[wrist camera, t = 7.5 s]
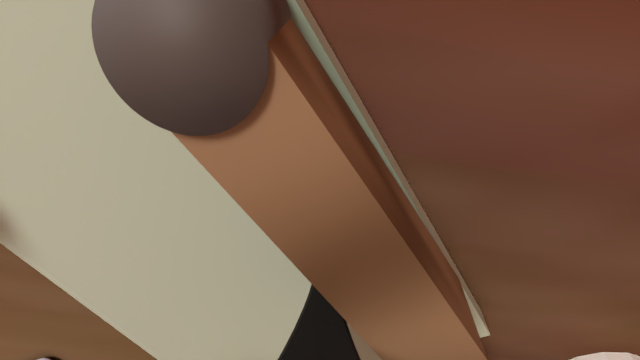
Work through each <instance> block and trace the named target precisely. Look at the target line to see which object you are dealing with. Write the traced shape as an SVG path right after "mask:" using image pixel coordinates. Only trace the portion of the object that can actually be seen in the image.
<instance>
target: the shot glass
mask: <svg viewBox="0 0 640 360" xmlns="http://www.w3.org/2000/svg"><path fill="white" fill-rule="evenodd" d="M570 360H640V356H637V355H634V354H631V353H619V352H600V353H595V354H589V355H584V356H578V357H575V358H573V359H570Z"/></svg>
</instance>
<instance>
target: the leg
mask: <svg viewBox="0 0 640 360" xmlns="http://www.w3.org/2000/svg"><path fill="white" fill-rule="evenodd" d="M91 27H92V39H93V44H94V49H95V52H96V55H97V59H98V61H99V64H100V66H101V68H102V71H103V73H104V74H105V76H106V78H107V80H108V81H109V83H110V84H111V86H112V87H113V89H114V90H115V92H116V93H117V94H118V95H119V96H120V97H121V99H122V100H123V101H124V102H125V103H126V104H127V105H128V106H129V107H130V108H131V109H132V110H134V111H135V112H136V113H137V114H139V115H140V116H141V117H143V118H144V119H146V120H148V121H149V122H151V123H153V124H154V125H156V126H158V127H160V128H163V129H166V130H168V131H171V132H172V133H173V134H174V136H175V137H176V138H177V139H178V140H179V141H180V142H181V143H182V144H183V145H184V146H185V147H186V149H187V150H188V151H189V152H190V153H191V154H192V155H193V156H194V157H195V158H196V159H197V160H198V162H199V163H200V164H201V165H202V166H203V167H204V168H205V169H206V170H207V171H208V172H209V173H210V174H211V176H212V177H213V178H214V179H215V180H216V181H217V182H218V183H219V184H220V185H221V186H222V187H223V189H224V190H225V191H226V192H227V193H228V194H229V195H230V196H231V197H232V198H233V199H234V200H235V201H236V203H237V204H238V205H239V206H240V207H241V208H242V209H243V210H244V211H245V212H246V213H247V214H248V216H249V217H250V218H251V219H252V220H253V221H254V222H255V223H256V224H257V225H258V226H259V227H260V229H261V230H262V231H263V232H264V233H265V234H266V235H267V236H268V237H269V238H270V239H271V240H272V241H273V243H274V244H275V245H276V246H277V247H278V248H279V249H280V250H281V251H282V252H283V253H284V254H285V256H286V257H287V258H288V259H289V260H290V261H291V262H292V263H293V264H294V265H295V266H296V267H297V269H298V270H299V271H300V272H301V273H302V274H303V275H304V276H305V277H306V278H307V279H308V280H309V281H310V283H311V284H312V285H313V286H314V287H315V288H316V289H317V290H318V291H319V292H320V293H321V294H322V296H323V297H324V298H325V299H326V300H327V301H328V302H329V303H330V304H331V305H332V306H333V307H334V309H335V310H336V311H337V312H338V313H339V314H340V315H341V316H342V317H343V318H344V319H345V320H346V321H347V323H348V324H349V325H350V326H351V327H352V328H353V329H354V330H355V331H356V332H357V333H358V334H359V336H360V337H361V338H362V339H363V340H364V341H365V342H366V343H367V344H368V345H369V346H370V347H371V349H372V350H373V351H374V352H375V353H376V354H377V355H378V356H379V357H380V358H381V359H382V360H488V359H487V356H486V353H485V351H484V348H483V345H482V342H481V339H480V336H479V334H478V331H477V328H476V325H475V322H474V319H473V317H472V314H471V311H470V308H469V305H468V302H467V300H466V297H465V294H464V291H463V288H462V285H461V283H460V280H459V278H458V276H457V275H456V273H455V272H454V270H453V268H452V267H451V265H450V264H449V262H448V261H447V259H446V258H445V256H444V254H443V253H442V251H441V250H440V248H439V247H438V245H437V244H436V242H435V240H434V239H433V237H432V236H431V234H430V233H429V231H428V229H427V228H426V226H425V225H424V223H423V222H422V220H421V219H420V217H419V215H418V214H417V212H416V211H415V209H414V208H413V206H412V205H411V203H410V201H409V200H408V198H407V197H406V195H405V194H404V192H403V191H402V189H401V187H400V186H399V184H398V183H397V181H396V180H395V178H394V177H393V175H392V173H391V172H390V170H389V169H388V167H387V166H386V164H385V163H384V161H383V159H382V158H381V156H380V155H379V153H378V152H377V150H376V149H375V147H374V145H373V144H372V142H371V141H370V139H369V138H368V136H367V135H366V133H365V131H364V130H363V128H362V127H361V125H360V124H359V122H358V121H357V119H356V117H355V116H354V114H353V113H352V111H351V110H350V108H349V107H348V105H347V103H346V102H345V100H344V99H343V97H342V96H341V94H340V93H339V91H338V89H337V88H336V86H335V85H334V83H333V82H332V80H331V78H330V77H329V75H328V74H327V72H326V71H325V69H324V68H323V66H322V64H321V63H320V61H319V60H318V58H317V57H316V55H315V54H314V52H313V50H312V49H311V47H310V46H309V44H308V43H307V41H306V40H305V38H304V36H303V35H302V33H301V32H300V30H299V29H298V27H297V26H296V24H295V22H294V21H293V19H292V18H291V13H290V9H289V5H288V3H287V0H95V2H94V6H93V11H92V23H91Z"/></svg>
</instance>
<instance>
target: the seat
mask: <svg viewBox="0 0 640 360" xmlns="http://www.w3.org/2000/svg"><path fill="white" fill-rule="evenodd" d="M94 2H95V0H0V243H1V244H2V245H4V246H5V247H6V248H8V249H9V250H10V251H12V252H13V253H14V254H16V255H17V256H18V257H20V258H21V259H22V260H24V261H25V262H27V263H28V264H29V265H31V266H32V267H33V268H35V269H36V270H37V271H39V272H40V273H41V274H43V275H44V276H45V277H47V278H48V279H49V280H51V281H52V282H53V283H55V284H56V285H58V286H59V287H60V288H62V289H63V290H64V291H66V292H67V293H68V294H70V295H71V296H72V297H74V298H75V299H76V300H78V301H79V302H80V303H82V304H83V305H84V306H86V307H87V308H88V309H90V310H91V311H93V312H94V313H95V314H97V315H98V316H99V317H101V318H102V319H103V320H105V321H106V322H107V323H109V324H110V325H111V326H113V327H114V328H115V329H117V330H118V331H119V332H121V333H122V334H124V335H125V336H126V337H128V338H129V339H130V340H132V341H133V342H134V343H136V344H137V345H138V346H140V347H141V348H142V349H144V350H145V351H146V352H148V353H149V354H150V355H152V356H153V357H155V358H156V359H157V360H278V358H279V356H280V354H281V353H282V351H283V349H284V347H285V345H286V343H287V341H288V339H289V337H290V335H291V334H292V332H293V330H294V328H295V325H296V323H297V321H298V319H299V316H300V314H301V312H302V310H303V307H304V305H305V302H306V300H307V297H308V294H309V291H310V288H311V283H310V281H309V280H308V279H307V278H306V277H305V276H304V275H303V274H302V273H301V272H300V271H299V270H298V269H297V267H296V266H295V265H294V264H293V263H292V262H291V261H290V260H289V259H288V258H287V257H286V256H285V254H284V253H283V252H282V251H281V250H280V249H279V248H278V247H277V246H276V245H275V244H274V243H273V241H272V240H271V239H270V238H269V237H268V236H267V235H266V234H265V233H264V232H263V231H262V230H261V229H260V227H259V226H258V225H257V224H256V223H255V222H254V221H253V220H252V219H251V218H250V217H249V216H248V214H247V213H246V212H245V211H244V210H243V209H242V208H241V207H240V206H239V205H238V204H237V203H236V201H235V200H234V199H233V198H232V197H231V196H230V195H229V194H228V193H227V192H226V191H225V190H224V189H223V187H222V186H221V185H220V184H219V183H218V182H217V181H216V180H215V179H214V178H213V177H212V176H211V174H210V173H209V172H208V171H207V170H206V169H205V168H204V167H203V166H202V165H201V164H200V163H199V162H198V160H197V159H196V158H195V157H194V156H193V155H192V154H191V153H190V152H189V151H188V150H187V149H186V147H185V146H184V145H183V144H182V143H181V142H180V141H179V140H178V139H177V138H176V137H175V136H174V134H173V133H172V132H171V131H168V130H166V129H163V128H160V127H158V126H156V125H154V124H153V123H151V122H149V121H148V120H146V119H144V118H143V117H141V116H140V115H139V114H137V113H136V112H135V111H134V110H132V109H131V108H130V107H129V106H128V105H127V104H126V103H125V102H124V101H123V100H122V99H121V97H120V96H119V95H118V94H117V93H116V92H115V90H114V89H113V87H112V86H111V84H110V83H109V81H108V80H107V78H106V76H105V74H104V73H103V71H102V68H101V66H100V64H99V61H98V59H97V55H96V52H95V49H94V44H93V39H92V27H91V23H92V11H93V6H94ZM287 3H288V5H289V9H290V13H291V18H292V19H293V21H294V22H295V24H296V26H297V27H298V29H299V30H300V32H301V33H302V35H303V36H304V38H305V40H306V41H307V43H308V44H309V46H310V47H311V49H312V50H313V52H314V54H315V55H316V57H317V58H318V60H319V61H320V63H321V64H322V66H323V68H324V69H325V71H326V72H327V74H328V75H329V77H330V78H331V80H332V82H333V83H334V85H335V86H336V88H337V89H338V91H339V93H340V94H341V96H342V97H343V99H344V100H345V102H346V103H347V105H348V107H349V108H350V110H351V111H352V113H353V114H354V116H355V117H356V119H357V121H358V122H359V124H360V125H361V127H362V128H363V130H364V131H365V133H366V135H367V136H368V138H369V139H370V141H371V142H372V144H373V145H374V147H375V149H376V150H377V152H378V153H379V155H380V156H381V158H382V159H383V161H384V163H385V164H386V166H387V167H388V169H389V170H390V172H391V173H392V175H393V177H394V178H395V180H396V181H397V183H398V184H399V186H400V187H401V189H402V191H403V192H404V194H405V195H406V197H407V198H408V200H409V201H410V203H411V205H412V206H413V208H414V209H415V211H416V212H417V214H418V215H419V217H420V219H421V220H422V222H423V223H424V225H425V226H426V228H427V229H428V231H429V233H430V234H431V236H432V237H433V239H434V240H435V242H436V244H437V245H438V247H439V248H440V250H441V251H442V253H443V254H444V256H445V258H446V259H447V261H448V262H449V264H450V265H451V267H452V268H453V270H454V272H455V273H456V275H457V276H458V278H459V280H460V283H461V285H462V288H463V291H464V294H465V297H466V300H467V302H468V305H469V308H470V311H471V314H472V317H473V319H474V322H475V325H476V328H477V331H478V334H479V336H480V338H481V337H485V336H488V335H490V333H489V330H488V328H487V325H486V322H485V320H484V317H483V314H482V312H481V310H480V308H479V306H478V304H477V303H476V301H475V299H474V297H473V296H472V294H471V292H470V290H469V289H468V287H467V285H466V283H465V282H464V280H463V278H462V276H461V275H460V273H459V271H458V269H457V268H456V266H455V264H454V262H453V261H452V259H451V257H450V255H449V254H448V252H447V250H446V248H445V247H444V245H443V243H442V241H441V240H440V238H439V236H438V234H437V233H436V231H435V229H434V227H433V226H432V224H431V222H430V220H429V219H428V217H427V215H426V213H425V212H424V210H423V208H422V206H421V205H420V203H419V201H418V199H417V197H416V196H415V194H414V192H413V190H412V189H411V187H410V185H409V183H408V182H407V180H406V178H405V176H404V175H403V173H402V171H401V169H400V168H399V166H398V164H397V162H396V161H395V159H394V157H393V155H392V154H391V152H390V150H389V148H388V147H387V145H386V143H385V141H384V140H383V138H382V136H381V134H380V133H379V131H378V129H377V127H376V126H375V124H374V122H373V120H372V119H371V117H370V115H369V113H368V112H367V110H366V108H365V106H364V105H363V103H362V101H361V99H360V98H359V96H358V94H357V92H356V91H355V89H354V87H353V85H352V84H351V82H350V80H349V78H348V77H347V75H346V73H345V71H344V70H343V68H342V66H341V64H340V63H339V61H338V59H337V57H336V56H335V54H334V52H333V50H332V49H331V47H330V45H329V43H328V42H327V40H326V38H325V36H324V35H323V33H322V31H321V29H320V28H319V26H318V24H317V22H316V21H315V19H314V17H313V15H312V14H311V12H310V10H309V8H308V7H307V5H306V3H305V1H304V0H287ZM346 322H347V321H346ZM347 325H348V328H349V331H350V334H351V336H352V339H353V342H354V344H355V347H356V349H357V352H358V354H359V357H360V359H361V360H382V359H381V358H380V357H379V356H378V355H377V354H376V353H375V352H374V351H373V350H372V349H371V347H370V346H369V345H368V344H367V343H366V342H365V341H364V340H363V339H362V338H361V337H360V336H359V334H358V333H357V332H356V331H355V330H354V329H353V328H352V327H351V326H350V325H349V324H348V323H347Z"/></svg>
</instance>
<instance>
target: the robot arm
mask: <svg viewBox="0 0 640 360" xmlns="http://www.w3.org/2000/svg"><path fill="white" fill-rule="evenodd" d="M38 360H51V359H48V358H40V359H38ZM278 360H361V359H360V357H359V354H358V352H357V349H356V347H355V344H354V342H353V339H352V336H351V334H350V331H349V328H348V325H347V322H346V320H345V319H344V318H343V317H342V316H341V315H340V314H339V313H338V312H337V311H336V310H335V309H334V307H333V306H332V305H331V304H330V303H329V302H328V301H327V300H326V299H325V298H324V297H323V296H322V294H321V293H320V292H319V291H318V290H317V289H316V288H315V287H314V286H313V285H312V284H311V288H310V291H309V294H308V297H307V300H306V302H305V305H304V307H303V310H302V312H301V314H300V316H299V319H298V321H297V323H296V325H295V328H294V330H293V332H292V334H291V335H290V337H289V339H288V341H287V343H286V345H285V347H284V349H283V351H282V353H281V354H280V356H279V358H278Z"/></svg>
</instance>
